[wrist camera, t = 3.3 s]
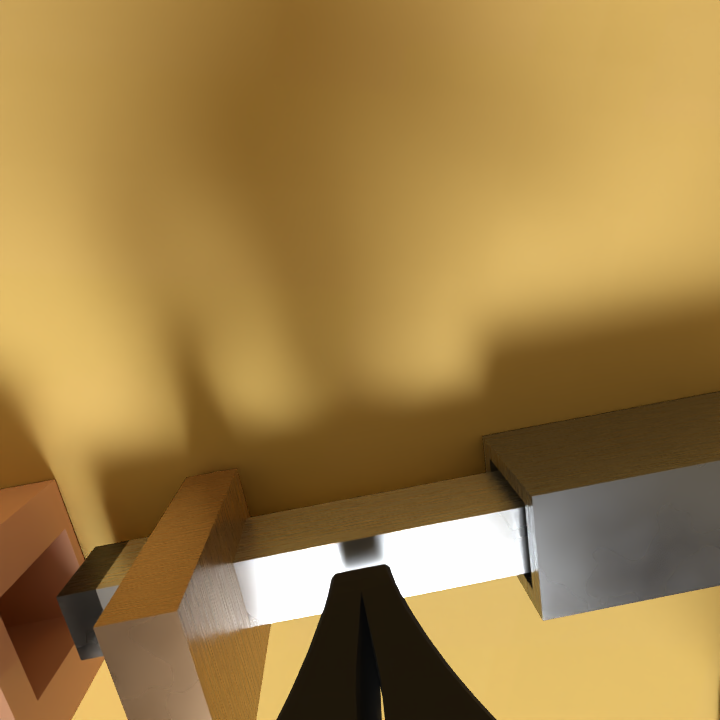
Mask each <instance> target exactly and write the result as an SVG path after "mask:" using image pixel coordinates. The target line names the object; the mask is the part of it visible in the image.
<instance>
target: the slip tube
mask: <svg viewBox="0 0 720 720" xmlns="http://www.w3.org/2000/svg"><path fill="white" fill-rule="evenodd" d="M381 564H387V565H388V566H390V567H391V571H392V574H393V576H394V579H395V581H396V584H397V586H398V588H399V590H400V592H401V594H402V595H403V597H407V596H412V595H417V594H422V593H427V592H432V591H437V590H443V589H448V588H453V587H458V586H463V585H468V584H473V583H478V582H483V581H488V580H493V579H499V578H504V577H509V576H514V575H519V574H524V573H529V572H531V565H530V554H529V543H528V532H527V521H526V510H525V503H524V502H523V501H522V499H521V498H520V497H519V495H518V494H517V493H516V492H515V490H514V489H513V488H512V486H511V485H510V484H509V482H508V481H507V480H506V479H505V477H504V476H503V475H502V473H501V472H500V471H499V470H497V471H492V472H487V473H481V474H476V475H471V476H466V477H460V478H455V479H450V480H445V481H439V482H434V483H429V484H424V485H418V486H413V487H408V488H403V489H397V490H392V491H387V492H382V493H376V494H371V495H366V496H361V497H355V498H350V499H345V500H340V501H334V502H329V503H324V504H319V505H313V506H308V507H303V508H298V509H292V510H287V511H282V512H277V513H271V514H266V515H261V516H256V517H250V516H249V512H248V509H247V505H246V501H245V497H244V493H243V489H242V486H241V482H240V478H239V474H238V470H237V468H234V469H229V470H224V471H218V472H213V473H208V474H202V475H197V476H192V477H186V479H185V481H184V482H183V484H182V485H181V487H180V489H179V490H178V492H177V493H176V495H175V497H174V498H173V500H172V501H171V503H170V505H169V506H168V508H167V510H166V511H165V513H164V514H163V516H162V518H161V519H160V521H159V522H158V524H157V526H156V527H155V529H154V530H153V532H152V534H151V535H150V537H145V538H140V539H135V540H130V541H124V542H119V543H114V544H109V545H103V546H98V547H95V548H94V549H93V551H92V552H91V553H90V554H89V556H88V557H87V558H86V560H85V561H84V562H83V563H82V565H81V566H80V567H79V569H78V570H77V571H76V572H75V574H74V575H73V576H72V577H71V579H70V580H69V581H68V583H67V584H66V585H65V586H64V588H63V589H62V590H61V591H60V593H59V594H58V595H57V597H56V599H57V601H58V604H59V606H60V609H61V611H62V614H63V616H64V619H65V621H66V624H67V626H68V629H69V631H70V634H71V636H72V639H73V641H74V644H75V646H76V649H77V651H78V654H79V656H80V659H81V660H86V659H91V658H97V657H102V656H104V658H105V661H106V663H107V666H108V669H109V671H110V674H111V676H112V679H113V682H114V684H115V687H116V690H117V692H118V695H119V697H120V700H121V703H122V705H123V708H124V711H125V713H126V716H127V718H128V720H256V717H257V711H258V704H259V698H260V691H261V685H262V678H263V672H264V665H265V659H266V652H267V646H268V639H269V633H270V626H271V623H275V622H280V621H285V620H290V619H295V618H300V617H305V616H310V615H315V614H320V613H322V611H323V608H324V605H325V601H326V598H327V594H328V590H329V586H330V581H331V578H332V577H333V575H334V574H335V573H340V572H345V571H350V570H355V569H360V568H365V567H371V566H376V565H381Z"/></svg>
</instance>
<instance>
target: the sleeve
mask: <svg viewBox="0 0 720 720" xmlns="http://www.w3.org/2000/svg"><path fill="white" fill-rule="evenodd" d="M482 438H483V447H484V456H485V465H486V473H487V472H492V471H497V470H499V471H500V472H501V473H502V475H503V476H504V477H505V479H506V480H507V481H508V482H509V484H510V485H511V486H512V488H513V489H514V490H515V492H516V493H517V494H518V495H519V497H520V498H521V499H522V501H523V502H524V503H525V510H526V521H527V532H528V543H529V554H530V565H531V572H529V573H524V574H519V575H517V577H518V579H519V580H520V582H521V584H522V585H523V587H524V589H525V591H526V592H527V594H528V596H529V598H530V599H531V601H532V603H533V604H534V606H535V608H536V610H537V611H538V613H539V615H540V617H541V618H542V620H543V621H544V620H549V619H554V618H559V617H564V616H569V615H574V614H579V613H584V612H589V611H594V610H599V609H604V608H609V607H614V606H619V605H624V604H629V603H634V602H639V601H644V600H649V599H654V598H659V597H664V596H669V595H674V594H679V593H684V592H689V591H694V590H699V589H704V588H709V587H714V586H719V585H720V392H715V393H709V394H704V395H699V396H693V397H688V398H683V399H677V400H672V401H667V402H662V403H656V404H651V405H646V406H640V407H635V408H630V409H624V410H619V411H614V412H608V413H603V414H598V415H592V416H587V417H582V418H577V419H571V420H566V421H561V422H555V423H550V424H545V425H539V426H534V427H529V428H523V429H518V430H513V431H508V432H502V433H497V434H492V435H486V436H482Z"/></svg>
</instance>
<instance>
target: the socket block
mask: <svg viewBox="0 0 720 720" xmlns="http://www.w3.org/2000/svg"><path fill="white" fill-rule="evenodd" d="M84 561H85V560H84V557H83V554H82V552H81V549H80V546H79V544H78V541H77V538H76V536H75V533H74V530H73V527H72V525H71V522H70V519H69V517H68V514H67V511H66V509H65V506H64V503H63V501H62V498H61V495H60V492H59V490H58V487H57V484H56V482H55V479H54V480H49V481H43V482H38V483H33V484H27V485H22V486H16V487H11V488H6V489H0V720H71V719H72V717H73V716H74V714H75V712H76V710H77V708H78V707H79V705H80V703H81V701H82V699H83V697H84V696H85V694H86V692H87V690H88V688H89V686H90V685H91V683H92V681H93V679H94V677H95V675H96V674H97V672H98V670H99V668H100V666H101V664H102V663H103V661H104V659H105V658H104V656H102V657H97V658H91V659H86V660H81V659H80V656H79V654H78V651H77V649H76V646H75V644H74V641H73V639H72V636H71V634H70V631H69V629H68V626H67V624H66V621H65V619H64V616H63V614H62V611H61V609H60V606H59V604H58V601H57V599H56V597H57V595H58V594H59V593H60V591H61V590H62V589H63V588H64V586H65V585H66V584H67V583H68V581H69V580H70V579H71V577H72V576H73V575H74V574H75V572H76V571H77V570H78V569H79V567H80V566H81V565H82V563H83V562H84Z"/></svg>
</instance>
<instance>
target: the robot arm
mask: <svg viewBox="0 0 720 720" xmlns="http://www.w3.org/2000/svg"><path fill="white" fill-rule="evenodd" d="M380 687H381V692H382V696H383V705H384V714H385V720H496V719H495V718H494V717H493V716H492V714H491V713H490V712H489V711H488V710H487V709H486V708H485V707H484V706H483V705H482V704H481V703H480V701H479V700H478V699H477V698H476V697H475V696H474V695H473V694H472V692H471V691H470V690H469V689H468V688H467V687H466V685H465V684H464V683H463V682H462V681H461V680H460V678H459V677H458V676H457V675H456V673H455V672H454V671H453V670H452V668H451V667H450V666H449V665H448V663H447V662H446V661H445V659H444V658H443V657H442V655H441V654H440V653H439V651H438V650H437V649H436V647H435V646H434V645H433V643H432V642H431V640H430V639H429V637H428V636H427V635H426V633H425V632H424V630H423V629H422V627H421V625H420V624H419V622H418V621H417V619H416V618H415V616H414V615H413V613H412V611H411V610H410V608H409V606H408V605H407V603H406V601H405V599H404V597H403V595H402V594H401V592H400V590H399V588H398V586H397V584H396V581H395V579H394V576H393V574H392V571H391V567H390V566H388V565H387V564H381V565H376V566H371V567H365V568H360V569H355V570H350V571H345V572H340V573H335V574H334V575H333V577H332V578H331V581H330V586H329V590H328V594H327V598H326V601H325V605H324V608H323V611H322V614H321V617H320V620H319V623H318V626H317V629H316V631H315V634H314V637H313V639H312V642H311V645H310V647H309V650H308V653H307V655H306V657H305V660H304V662H303V664H302V667H301V669H300V671H299V673H298V676H297V678H296V680H295V683H294V685H293V687H292V689H291V691H290V694H289V696H288V698H287V700H286V702H285V704H284V706H283V708H282V710H281V712H280V714H279V716H278V718H277V720H382V714H381V693H380Z"/></svg>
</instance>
